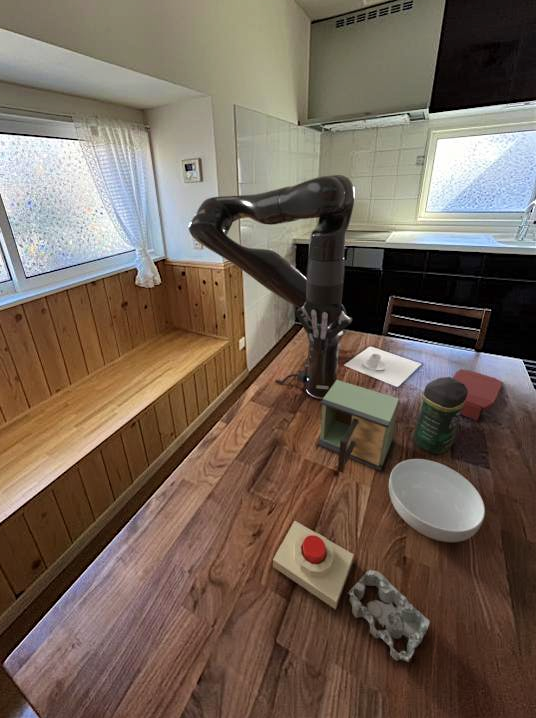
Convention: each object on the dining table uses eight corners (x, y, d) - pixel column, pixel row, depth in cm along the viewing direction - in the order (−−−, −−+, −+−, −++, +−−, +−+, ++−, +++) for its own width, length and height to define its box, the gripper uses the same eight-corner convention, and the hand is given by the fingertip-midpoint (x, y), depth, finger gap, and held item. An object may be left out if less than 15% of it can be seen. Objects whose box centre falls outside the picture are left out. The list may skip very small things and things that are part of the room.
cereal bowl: (441, 573, 60) (449, 548, 57) (368, 501, 74) (372, 478, 71) (495, 528, 67) (504, 504, 64) (419, 469, 81) (424, 447, 78)
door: (334, 479, 78) (338, 439, 73) (348, 451, 86) (353, 413, 81) (367, 495, 74) (374, 454, 69) (379, 463, 82) (386, 425, 77)
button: (298, 555, 61) (299, 549, 60) (308, 537, 64) (308, 530, 63) (319, 568, 59) (320, 562, 58) (328, 549, 61) (329, 542, 61)
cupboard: (317, 444, 89) (320, 402, 84) (333, 419, 98) (336, 379, 92) (380, 471, 81) (388, 425, 75) (391, 441, 89) (399, 398, 84)
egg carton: (342, 604, 57) (344, 589, 55) (370, 575, 60) (372, 561, 59) (402, 674, 48) (406, 660, 47) (429, 636, 52) (434, 621, 51)
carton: (457, 380, 118) (437, 405, 101) (461, 367, 117) (441, 390, 100) (499, 394, 111) (485, 423, 93) (503, 380, 109) (490, 408, 92)
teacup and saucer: (370, 356, 129) (371, 347, 127) (391, 364, 124) (392, 354, 122) (359, 365, 124) (360, 356, 122) (379, 373, 118) (381, 364, 117)
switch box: (272, 566, 62) (272, 553, 61) (294, 527, 69) (294, 514, 68) (335, 609, 56) (337, 595, 54) (352, 561, 63) (354, 548, 61)
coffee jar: (437, 460, 83) (453, 399, 75) (407, 441, 89) (419, 382, 82) (458, 444, 87) (475, 384, 80) (429, 426, 94) (442, 370, 86)
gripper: (288, 279, 71) (286, 350, 78) (350, 288, 64) (343, 366, 71) (303, 270, 77) (300, 338, 84) (362, 278, 69) (354, 351, 76)
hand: (320, 351), depth 77 cm, fingers closed
